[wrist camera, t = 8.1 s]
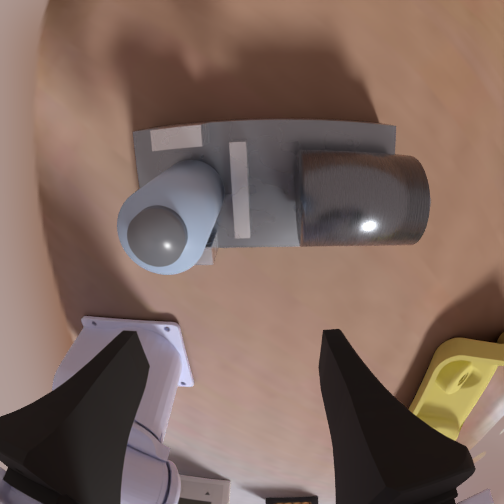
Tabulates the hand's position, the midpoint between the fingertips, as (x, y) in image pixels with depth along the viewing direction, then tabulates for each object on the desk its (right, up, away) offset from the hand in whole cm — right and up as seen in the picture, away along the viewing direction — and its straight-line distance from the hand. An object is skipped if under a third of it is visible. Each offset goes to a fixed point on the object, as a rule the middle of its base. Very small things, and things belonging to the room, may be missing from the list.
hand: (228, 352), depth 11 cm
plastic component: (+23, -12, +17) cm, 31 cm away
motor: (+2, +8, +7) cm, 11 cm away
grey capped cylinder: (-2, +7, +5) cm, 9 cm away
